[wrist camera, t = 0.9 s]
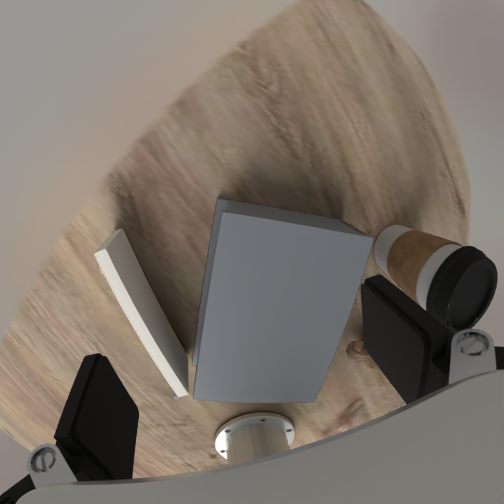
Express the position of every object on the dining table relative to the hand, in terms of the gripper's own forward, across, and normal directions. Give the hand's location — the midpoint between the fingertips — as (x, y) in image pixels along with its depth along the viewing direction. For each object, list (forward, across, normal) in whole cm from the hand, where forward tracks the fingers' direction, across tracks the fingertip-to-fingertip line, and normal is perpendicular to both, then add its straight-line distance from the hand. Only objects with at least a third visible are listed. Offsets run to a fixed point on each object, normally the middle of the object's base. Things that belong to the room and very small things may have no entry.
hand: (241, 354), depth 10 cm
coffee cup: (+23, -20, +10) cm, 32 cm away
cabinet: (+23, -3, +11) cm, 26 cm away
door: (+23, +9, +8) cm, 26 cm away
